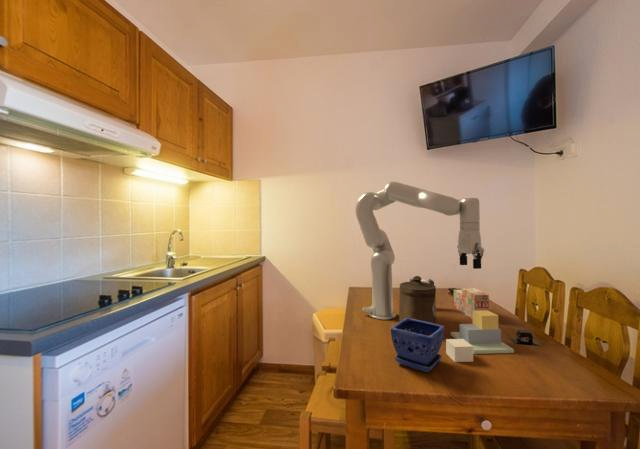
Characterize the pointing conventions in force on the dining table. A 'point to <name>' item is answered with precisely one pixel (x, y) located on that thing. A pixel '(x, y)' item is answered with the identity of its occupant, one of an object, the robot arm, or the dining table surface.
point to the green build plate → (487, 346)
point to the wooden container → (417, 301)
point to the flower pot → (417, 343)
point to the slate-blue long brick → (479, 334)
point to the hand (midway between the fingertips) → (470, 266)
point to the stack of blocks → (470, 300)
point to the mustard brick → (485, 320)
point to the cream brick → (459, 350)
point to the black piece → (528, 341)
